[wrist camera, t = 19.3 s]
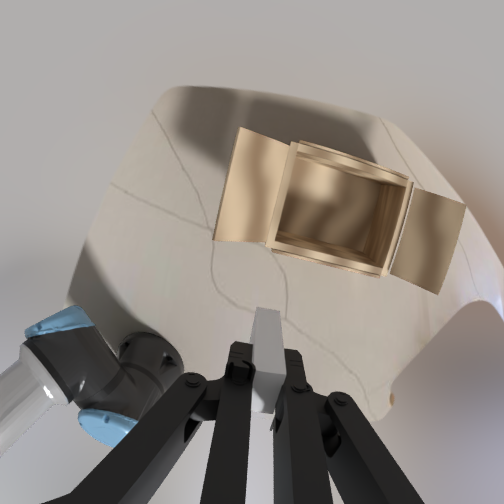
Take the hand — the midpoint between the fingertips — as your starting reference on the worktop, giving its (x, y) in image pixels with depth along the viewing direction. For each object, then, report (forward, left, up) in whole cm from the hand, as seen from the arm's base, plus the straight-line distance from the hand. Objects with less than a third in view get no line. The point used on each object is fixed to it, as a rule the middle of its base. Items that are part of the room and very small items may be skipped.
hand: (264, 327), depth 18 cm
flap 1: (-3, +8, -16) cm, 18 cm away
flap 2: (+21, +8, -16) cm, 27 cm away
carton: (+9, +8, -29) cm, 32 cm away
